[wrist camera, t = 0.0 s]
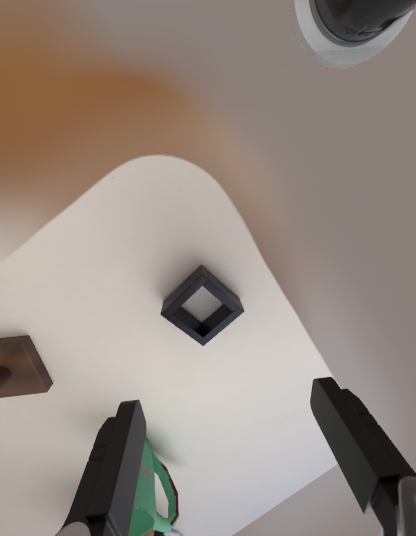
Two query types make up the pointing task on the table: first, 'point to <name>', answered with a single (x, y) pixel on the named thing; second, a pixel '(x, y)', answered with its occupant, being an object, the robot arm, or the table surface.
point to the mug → (152, 497)
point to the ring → (215, 321)
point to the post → (21, 368)
